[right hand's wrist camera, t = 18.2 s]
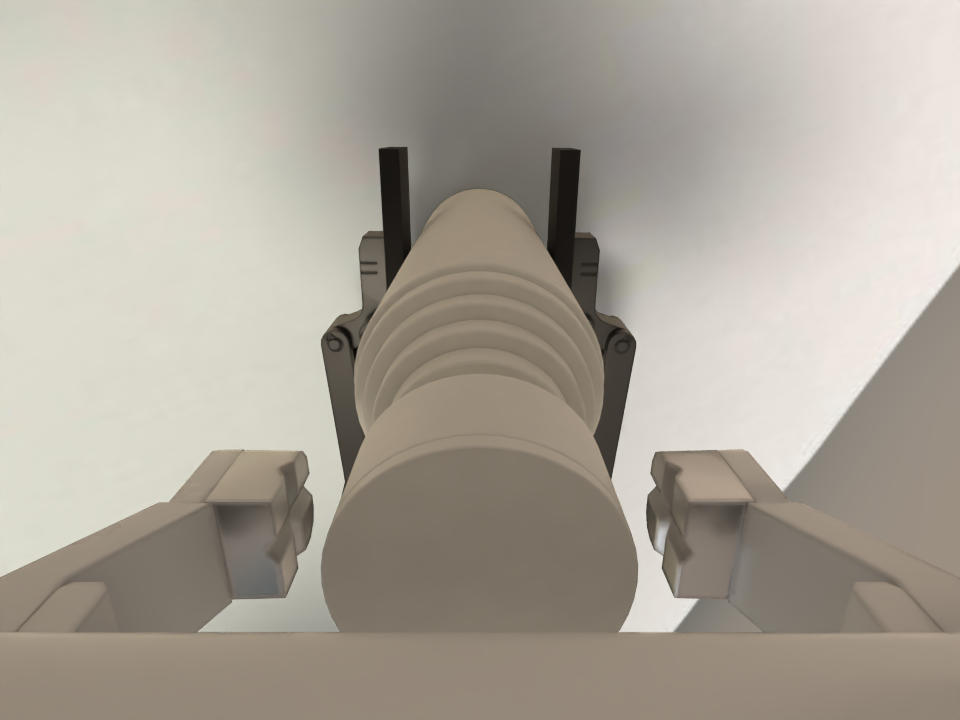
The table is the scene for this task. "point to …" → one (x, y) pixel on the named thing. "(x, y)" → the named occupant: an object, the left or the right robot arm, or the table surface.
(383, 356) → the bottle
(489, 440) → the cap
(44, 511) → the table surface
